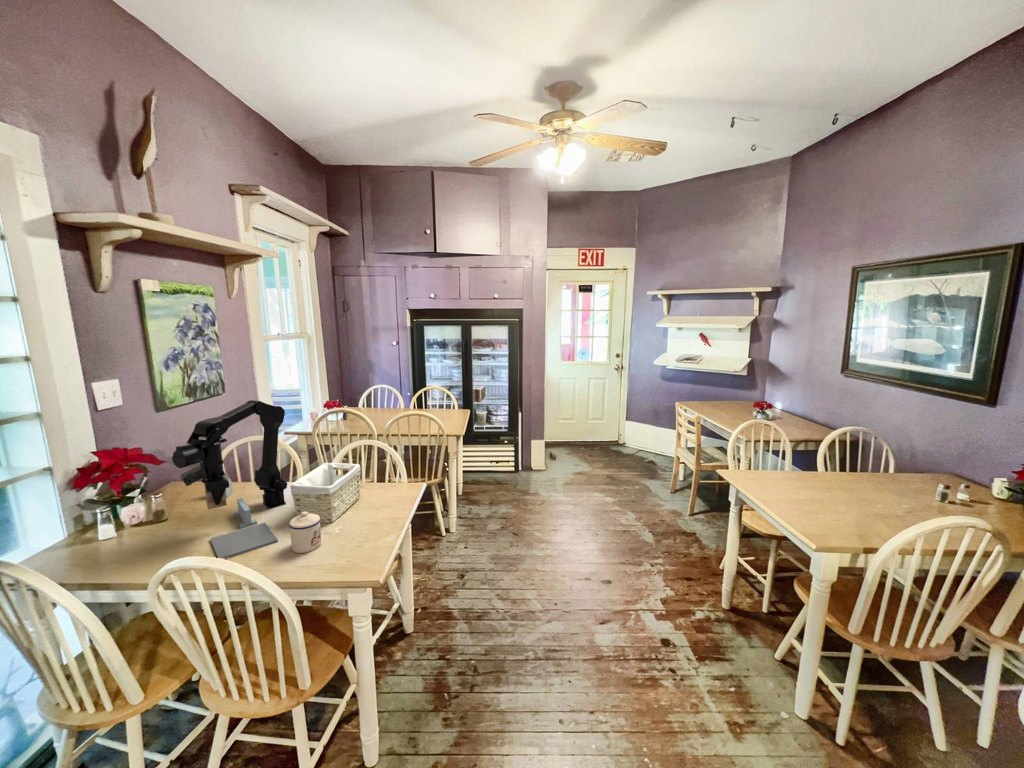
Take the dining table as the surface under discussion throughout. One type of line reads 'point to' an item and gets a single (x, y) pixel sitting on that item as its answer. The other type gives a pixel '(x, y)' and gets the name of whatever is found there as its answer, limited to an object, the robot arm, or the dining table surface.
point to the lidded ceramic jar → (305, 532)
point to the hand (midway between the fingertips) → (216, 501)
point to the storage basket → (327, 491)
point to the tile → (243, 540)
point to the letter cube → (211, 502)
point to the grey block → (229, 490)
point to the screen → (244, 514)
